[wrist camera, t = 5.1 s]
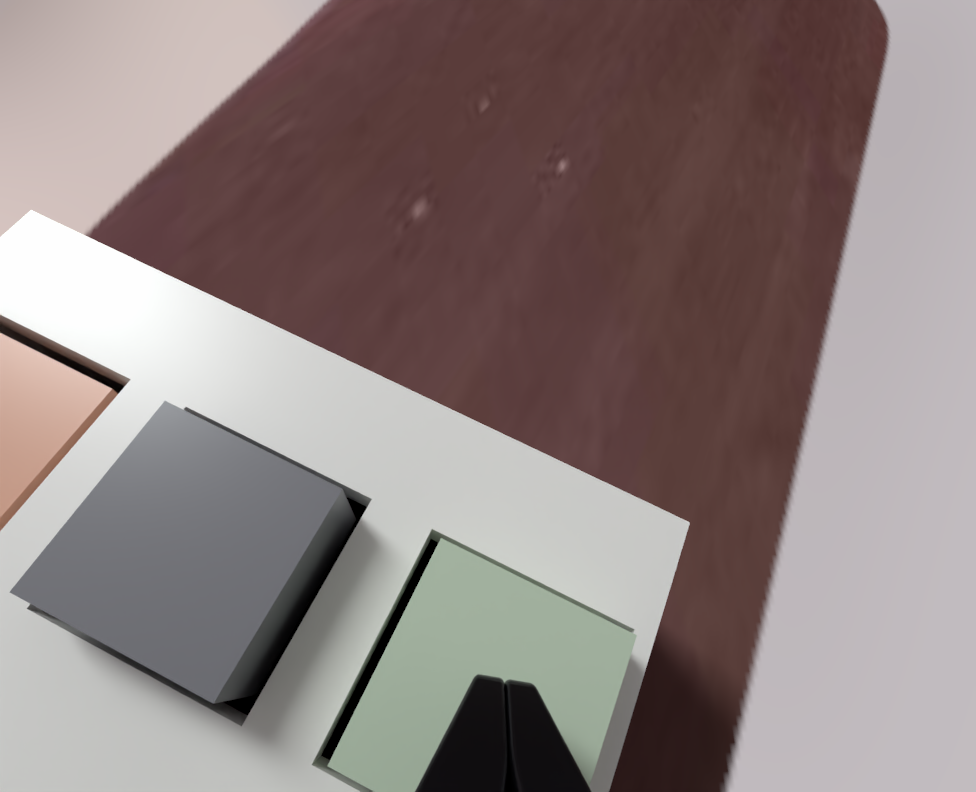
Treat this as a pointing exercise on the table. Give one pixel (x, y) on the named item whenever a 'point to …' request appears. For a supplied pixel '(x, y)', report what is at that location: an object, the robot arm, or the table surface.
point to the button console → (317, 449)
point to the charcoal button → (193, 555)
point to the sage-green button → (480, 668)
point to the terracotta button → (39, 418)
